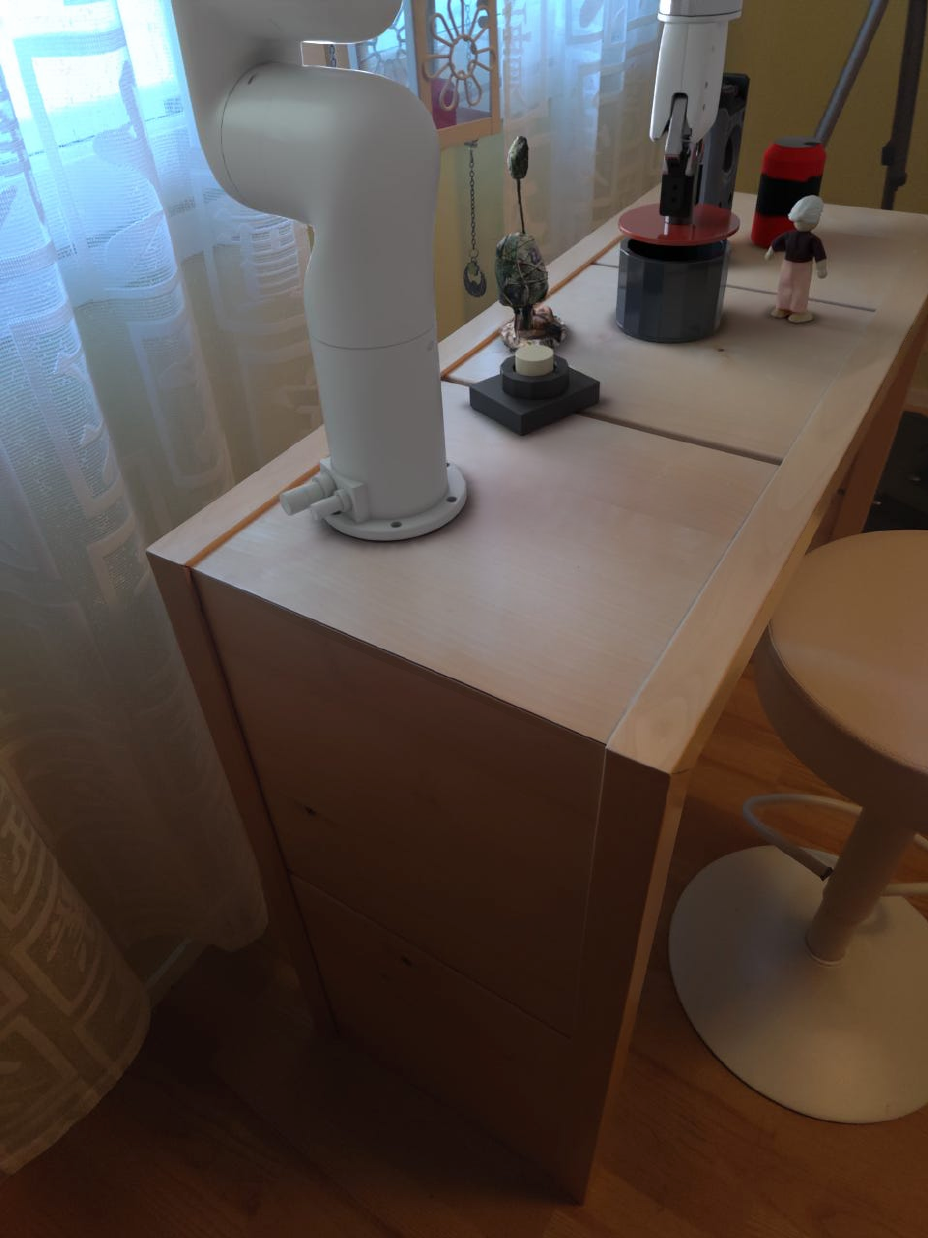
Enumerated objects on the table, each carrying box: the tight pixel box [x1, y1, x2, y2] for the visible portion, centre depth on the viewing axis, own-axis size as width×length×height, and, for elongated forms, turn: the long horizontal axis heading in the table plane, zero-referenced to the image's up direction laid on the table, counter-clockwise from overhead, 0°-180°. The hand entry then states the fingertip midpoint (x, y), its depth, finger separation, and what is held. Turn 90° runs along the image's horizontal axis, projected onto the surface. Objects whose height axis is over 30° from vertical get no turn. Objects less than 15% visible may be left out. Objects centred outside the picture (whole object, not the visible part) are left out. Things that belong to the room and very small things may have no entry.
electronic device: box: [699, 71, 751, 240], centre depth 109 cm, size 9×6×20 cm, turn 148°
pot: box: [614, 235, 732, 344], centre depth 98 cm, size 12×12×8 cm
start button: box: [515, 345, 555, 377], centre depth 85 cm, size 4×4×2 cm
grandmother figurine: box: [764, 195, 829, 324], centre depth 96 cm, size 8×4×13 cm, turn 50°
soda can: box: [750, 135, 828, 250], centre depth 115 cm, size 8×8×12 cm
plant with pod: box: [492, 135, 568, 351], centre depth 92 cm, size 8×11×20 cm
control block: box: [468, 353, 601, 437], centre depth 86 cm, size 10×8×4 cm
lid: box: [617, 149, 741, 246], centre depth 92 cm, size 13×13×8 cm
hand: (679, 208), depth 93 cm, fingers closed on lid, 3 cm apart
